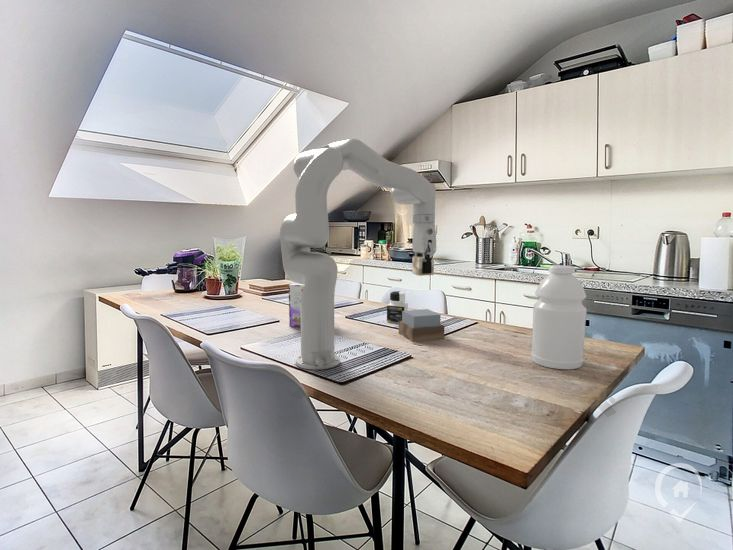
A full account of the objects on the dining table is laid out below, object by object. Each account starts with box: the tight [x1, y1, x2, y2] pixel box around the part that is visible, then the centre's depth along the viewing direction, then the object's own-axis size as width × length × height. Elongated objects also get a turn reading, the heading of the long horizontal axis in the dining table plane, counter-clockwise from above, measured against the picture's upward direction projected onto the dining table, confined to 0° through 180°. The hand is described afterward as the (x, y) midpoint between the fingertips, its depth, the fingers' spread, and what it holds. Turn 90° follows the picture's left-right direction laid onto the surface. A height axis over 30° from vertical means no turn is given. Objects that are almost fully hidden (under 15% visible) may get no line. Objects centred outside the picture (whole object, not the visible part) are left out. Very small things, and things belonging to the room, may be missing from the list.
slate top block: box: [402, 308, 441, 328], centre depth 156 cm, size 10×10×4 cm
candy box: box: [288, 282, 304, 328], centre depth 171 cm, size 14×6×16 cm, turn 84°
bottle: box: [530, 264, 588, 370], centre depth 127 cm, size 14×14×28 cm
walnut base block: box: [398, 321, 445, 343], centre depth 157 cm, size 12×12×5 cm
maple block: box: [411, 256, 435, 277], centre depth 154 cm, size 6×6×6 cm
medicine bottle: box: [386, 291, 409, 324], centre depth 180 cm, size 7×7×12 cm
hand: (422, 271), depth 154 cm, fingers closed on maple block, 5 cm apart
